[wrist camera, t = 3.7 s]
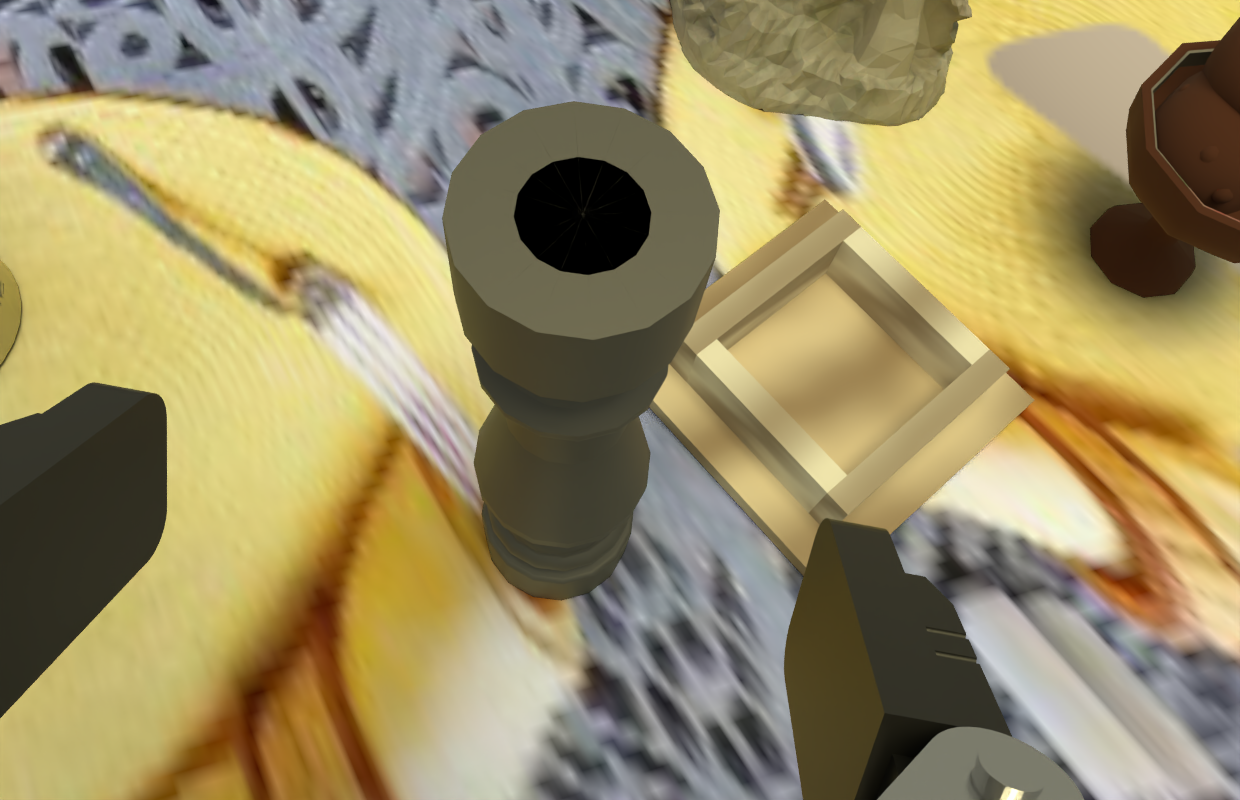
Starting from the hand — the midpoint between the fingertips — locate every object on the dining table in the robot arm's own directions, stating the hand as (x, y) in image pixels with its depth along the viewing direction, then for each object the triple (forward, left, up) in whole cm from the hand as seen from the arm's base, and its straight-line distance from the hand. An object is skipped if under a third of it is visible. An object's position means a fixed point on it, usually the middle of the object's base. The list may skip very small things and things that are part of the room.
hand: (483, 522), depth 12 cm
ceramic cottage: (+8, +40, -31) cm, 51 cm away
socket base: (+11, +17, -30) cm, 37 cm away
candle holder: (0, +8, -31) cm, 32 cm away
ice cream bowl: (+27, +28, -31) cm, 50 cm away
